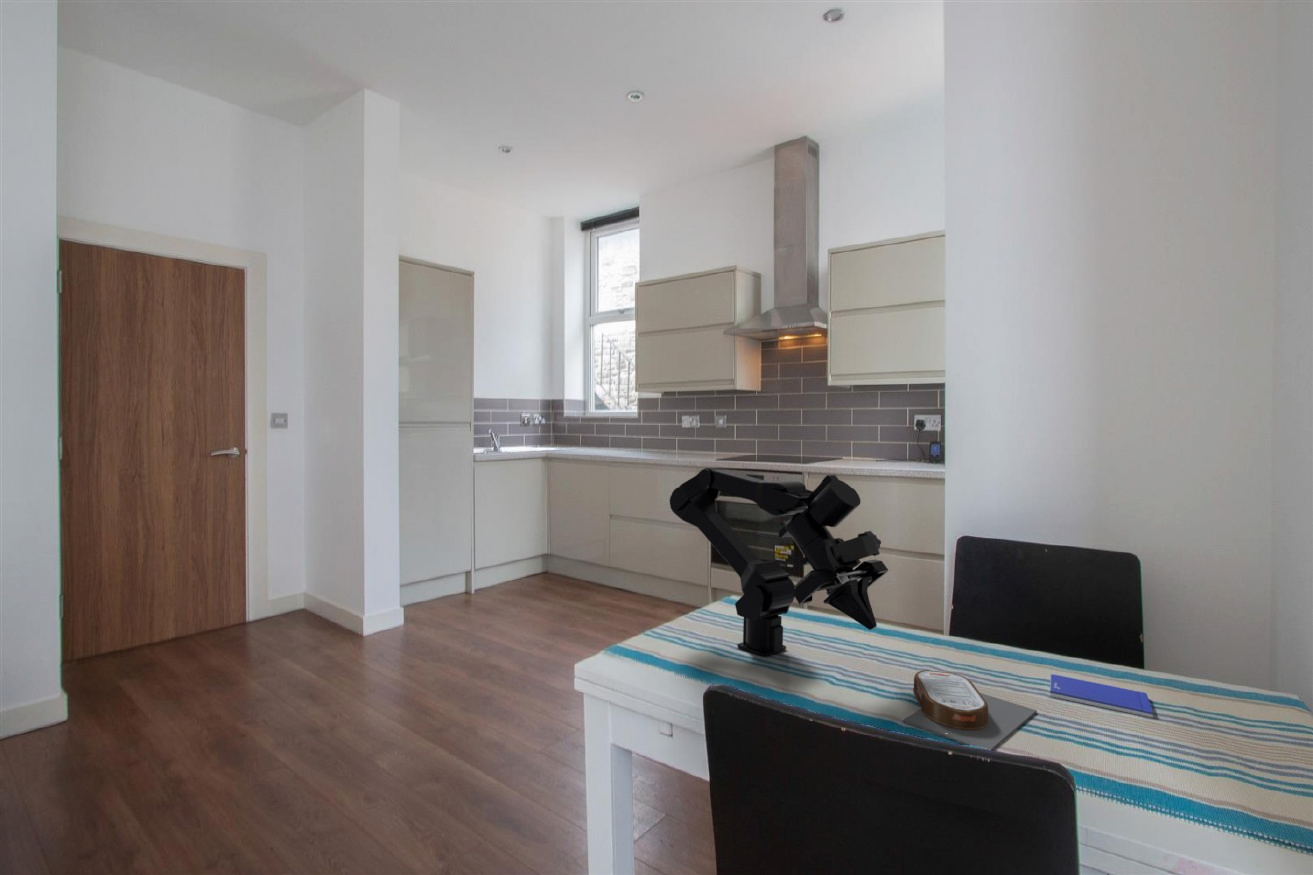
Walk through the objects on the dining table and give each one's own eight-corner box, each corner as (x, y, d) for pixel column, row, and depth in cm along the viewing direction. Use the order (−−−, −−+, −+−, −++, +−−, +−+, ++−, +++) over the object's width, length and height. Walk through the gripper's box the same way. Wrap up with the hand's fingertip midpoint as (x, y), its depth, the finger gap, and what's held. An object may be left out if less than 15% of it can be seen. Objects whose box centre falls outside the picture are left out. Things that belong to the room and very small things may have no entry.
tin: (929, 726, 84) (997, 737, 82) (931, 702, 84) (1000, 714, 82) (907, 682, 99) (964, 691, 97) (909, 662, 99) (966, 671, 97)
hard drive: (1049, 689, 96) (1153, 711, 89) (1050, 672, 103) (1146, 691, 96) (1049, 699, 96) (1152, 722, 89) (1050, 682, 103) (1145, 701, 96)
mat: (902, 721, 86) (902, 719, 86) (957, 687, 98) (957, 685, 98) (988, 753, 78) (988, 751, 78) (1036, 712, 90) (1036, 710, 90)
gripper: (813, 517, 94) (876, 609, 86) (880, 511, 106) (941, 591, 98) (769, 560, 100) (824, 649, 92) (837, 549, 112) (891, 628, 104)
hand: (873, 628), depth 96 cm, fingers closed
